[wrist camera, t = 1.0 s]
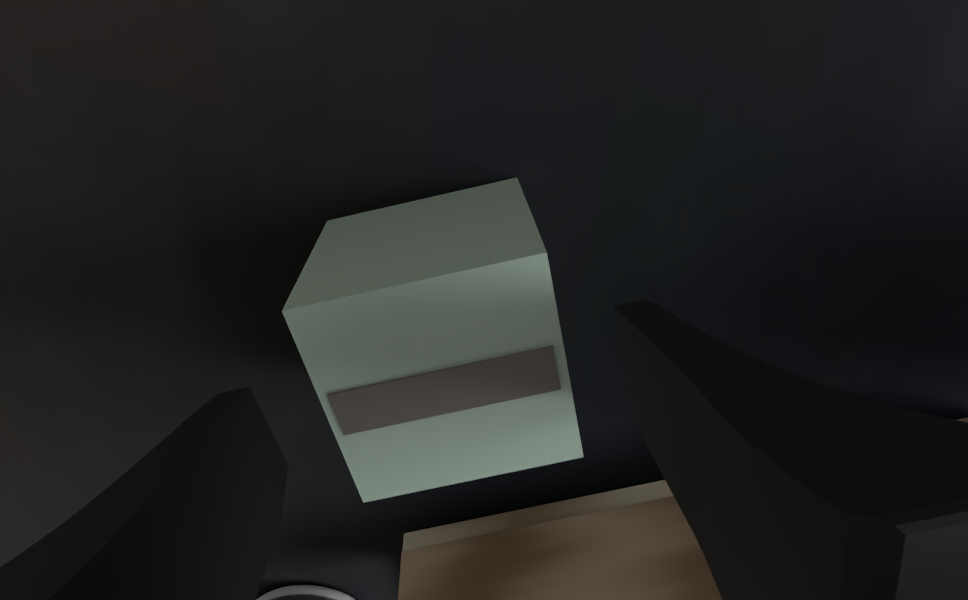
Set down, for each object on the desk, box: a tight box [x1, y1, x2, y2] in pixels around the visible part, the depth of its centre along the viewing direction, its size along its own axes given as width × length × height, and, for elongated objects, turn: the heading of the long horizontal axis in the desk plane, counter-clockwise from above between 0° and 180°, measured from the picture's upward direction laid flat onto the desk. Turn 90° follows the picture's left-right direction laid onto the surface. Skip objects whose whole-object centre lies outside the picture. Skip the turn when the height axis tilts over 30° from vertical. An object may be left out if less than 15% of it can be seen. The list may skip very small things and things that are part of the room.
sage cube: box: [282, 177, 584, 503], centre depth 14 cm, size 5×5×5 cm
